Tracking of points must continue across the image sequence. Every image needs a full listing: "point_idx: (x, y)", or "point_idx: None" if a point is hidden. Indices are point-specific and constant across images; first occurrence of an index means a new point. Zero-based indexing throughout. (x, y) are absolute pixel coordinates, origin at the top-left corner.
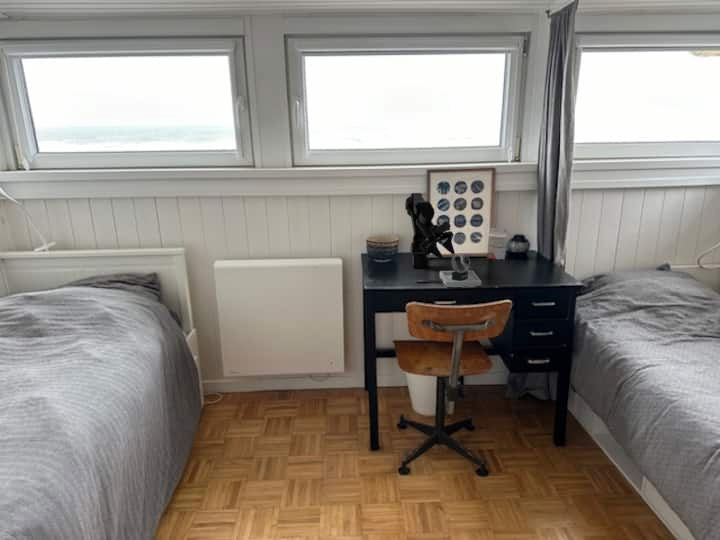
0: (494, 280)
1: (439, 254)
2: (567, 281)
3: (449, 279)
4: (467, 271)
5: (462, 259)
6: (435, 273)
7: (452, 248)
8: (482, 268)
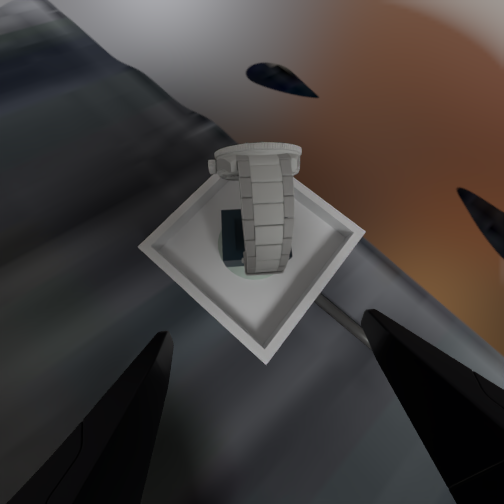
0: (144, 165)
1: (418, 342)
2: (7, 16)
3: (286, 275)
4: (223, 211)
5: (300, 151)
6: (233, 413)
7: (136, 380)
8: (8, 289)
